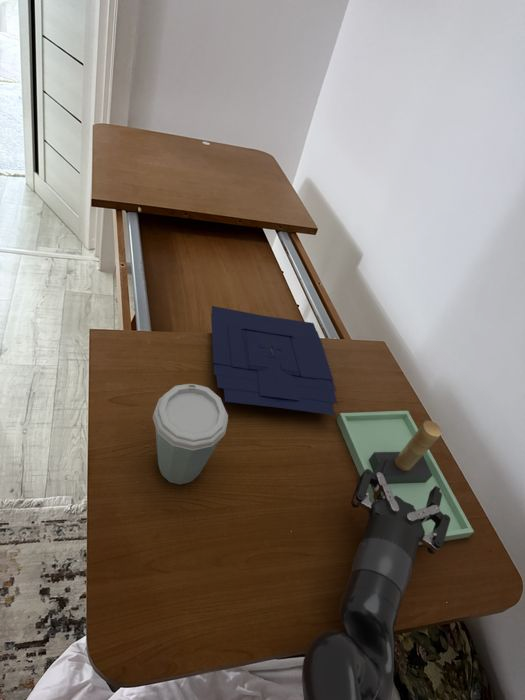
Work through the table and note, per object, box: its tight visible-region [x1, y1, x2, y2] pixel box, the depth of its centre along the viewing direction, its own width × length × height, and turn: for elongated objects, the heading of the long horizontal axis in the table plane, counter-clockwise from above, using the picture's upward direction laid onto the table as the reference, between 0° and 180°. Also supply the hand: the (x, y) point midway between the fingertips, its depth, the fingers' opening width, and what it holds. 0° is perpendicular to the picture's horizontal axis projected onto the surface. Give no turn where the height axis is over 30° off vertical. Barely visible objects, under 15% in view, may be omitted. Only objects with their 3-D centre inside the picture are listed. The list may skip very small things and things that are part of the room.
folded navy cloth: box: [210, 305, 338, 416], centre depth 102 cm, size 24×30×4 cm
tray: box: [335, 410, 475, 546], centre depth 91 cm, size 26×16×2 cm, turn 15°
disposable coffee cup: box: [152, 383, 229, 486], centre depth 75 cm, size 11×11×15 cm
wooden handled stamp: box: [369, 420, 442, 484], centre depth 87 cm, size 5×10×13 cm, turn 102°
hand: (410, 475), depth 81 cm, fingers open, 8 cm apart
